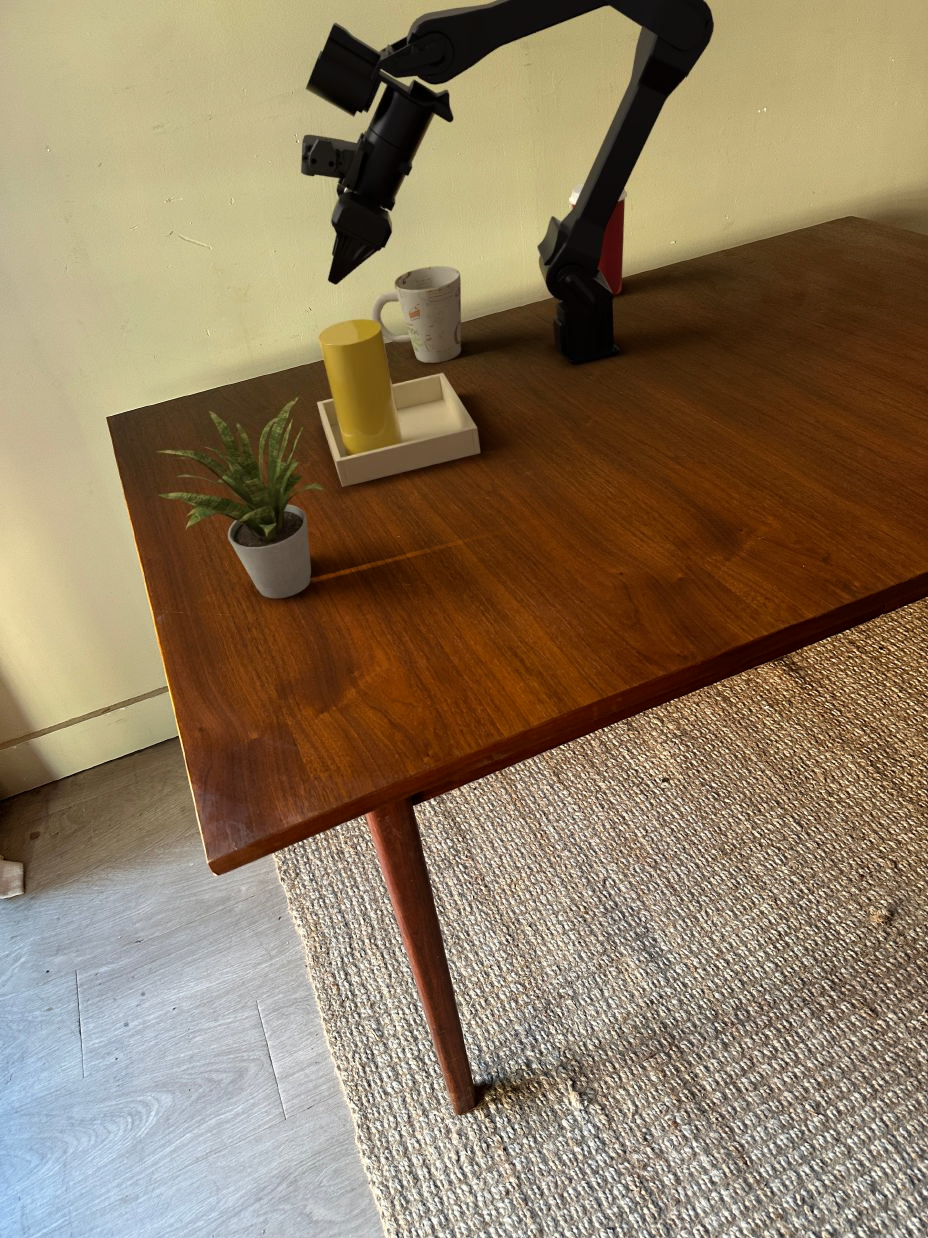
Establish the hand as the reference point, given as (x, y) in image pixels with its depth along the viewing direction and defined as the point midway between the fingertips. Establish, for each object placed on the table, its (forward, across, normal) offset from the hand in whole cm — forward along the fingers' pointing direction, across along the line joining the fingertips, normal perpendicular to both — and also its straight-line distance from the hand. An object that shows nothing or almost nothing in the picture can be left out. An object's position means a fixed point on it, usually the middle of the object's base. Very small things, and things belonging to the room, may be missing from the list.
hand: (333, 269), depth 108 cm
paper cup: (-9, -19, +37) cm, 42 cm away
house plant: (+15, +40, +4) cm, 43 cm away
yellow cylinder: (+10, +20, +10) cm, 25 cm away
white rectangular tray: (+9, +17, +13) cm, 23 cm away
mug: (+7, -6, +16) cm, 18 cm away
